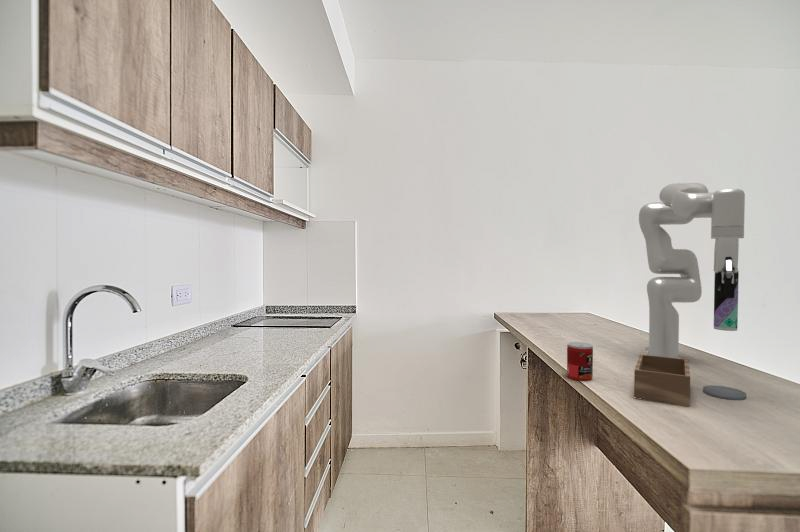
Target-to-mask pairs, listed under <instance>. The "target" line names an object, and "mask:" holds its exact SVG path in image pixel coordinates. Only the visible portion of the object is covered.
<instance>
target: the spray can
mask: <svg viewBox="0 0 800 532" xmlns="http://www.w3.org/2000/svg"><path fill="white" fill-rule="evenodd" d="M725 264H726V263H725ZM734 270H735V267H734ZM723 272H726V271H723ZM734 272H735V271H734ZM739 272H740V270H739V267H738V268H737V272H736V273H734V284H735V293H734V298H721V297H720V283H721V271H719V272H718V273H716V272H714V281H713V283H714V285H713V286H714V289H713V290H714V291H713V297H714V298H713V329H714V330H717V331H727V332H733V331H734V332H736V331H738V325H739V324H738V318H739V276H740V275H739Z"/></svg>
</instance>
